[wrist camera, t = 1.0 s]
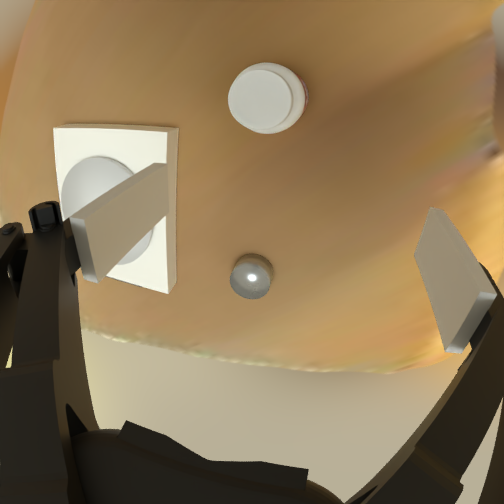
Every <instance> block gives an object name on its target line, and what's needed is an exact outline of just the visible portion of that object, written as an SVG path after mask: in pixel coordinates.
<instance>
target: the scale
mask: <svg viewBox="0 0 504 504" xmlns="http://www.w3.org/2000/svg"><path fill="white" fill-rule="evenodd" d="M53 129H54V148H55V161H56V175H57V184H58V192H59V200H60V207H61V213H62V220H63V221H64V220H66V219H67V218H69V217H70V216H71V215H73V214H74V213H76V212H77V211H79V210H80V209H81V208H83V207H84V206H86V205H87V204H89V203H90V202H92V201H93V200H95V199H96V198H98V197H99V196H101V195H102V194H104V193H105V192H107V191H109V190H110V189H112V188H113V187H115V186H116V185H118V184H120V183H121V182H123V181H124V180H126V179H128V178H129V177H131V176H133V175H134V174H136V173H137V172H139V171H141V170H143V169H144V168H146V167H148V166H149V165H151V164H153V163H167V167H168V196H169V213H168V214H167V215H166V216H165V217H164V218H163V219H162V220H161V221H159V222H158V223H157V224H156V225H155V226H154V227H153V228H152V229H151V230H150V231H149V232H148V233H147V234H146V235H145V236H144V237H143V238H142V239H141V240H140V241H139V242H138V243H137V244H136V245H135V246H134V247H133V248H132V249H131V250H130V251H129V252H128V253H127V254H126V255H125V256H124V257H123V258H122V259H121V260H120V261H119V262H118V263H117V264H116V265H115V266H114V267H113V269H112V270H111V271H110V272H109V273H108V274H107V275H106V277H109V278H113V279H116V280H119V281H123V282H126V283H129V284H133V285H136V286H139V287H145V288H149V289H152V290H156V291H159V292H163V293H167V294H169V292H170V291H171V289H172V288H173V286H174V285H175V284H176V282H177V274H176V186H177V156H178V135H179V128H172V127H159V126H143V125H123V124H65V125H62V126H59V127H56V128H53ZM80 268H81V267H80Z"/></svg>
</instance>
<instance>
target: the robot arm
mask: <svg viewBox="0 0 504 504" xmlns="http://www.w3.org/2000/svg"><path fill="white" fill-rule="evenodd" d="M168 213H169V196H168V167H167V163H153V164H151V165H149V166H148V167H146V168H144V169H143V170H141V171H139V172H137V173H136V174H134V175H133V176H131V177H129V178H128V179H126V180H124V181H123V182H121V183H120V184H118V185H116V186H115V187H113V188H112V189H110V190H109V191H107V192H105V193H104V194H102V195H101V196H99V197H98V198H96V199H95V200H93V201H92V202H90V203H89V204H87V205H86V206H84V207H83V208H81V209H80V210H79V211H77V212H76V213H74V214H73V215H71V216H70V217H69V218H67V219H66V220H64V221H62V216H61V211H60V206H59V203H58V202H56V201H47V202H43V203H40V204H38V205H35V206H34V207H32V208H31V209H30V210H29V217H30V221H31V225H32V229H33V233H24V231H23V227H22V224H21V223H19V222H14V223H8V224H5V225H4V226H3V227H2V228H0V504H455V503H456V501H457V500H458V498H459V496H460V495H461V493H462V491H463V484H461V483H460V479H461V477H462V475H463V474H464V472H465V471H466V469H467V467H468V465H469V464H470V462H471V460H472V459H473V457H474V455H475V453H476V451H477V449H478V448H479V446H480V444H481V442H482V440H483V438H484V437H485V435H486V433H487V431H488V429H489V427H490V424H491V422H492V420H493V418H494V416H495V414H496V411H497V409H498V407H499V405H500V402H501V400H502V398H503V403H502V409H501V415H500V422H499V427H498V432H497V437H496V441H495V446H494V450H493V455H492V458H491V462H490V466H489V470H488V474H487V477H486V480H485V483H484V487H483V490H482V493H481V496H480V499H479V502H478V504H504V298H503V296H502V294H501V292H500V291H499V289H498V287H497V286H496V284H495V282H494V280H493V279H492V277H491V275H490V273H489V272H488V270H487V269H486V268H485V267H484V266H483V265H482V264H481V263H480V262H478V261H477V259H476V257H475V256H474V254H473V253H472V251H471V250H470V248H469V246H468V245H467V243H466V242H465V240H464V239H463V237H462V236H461V234H460V233H459V231H458V230H457V229H456V227H455V226H454V224H453V223H452V221H451V220H450V219H449V217H448V216H447V214H446V213H445V212H444V210H442V209H438V208H434V207H430V208H429V211H428V215H427V218H426V221H425V224H424V227H423V230H422V233H421V236H420V239H419V242H418V245H417V248H416V251H415V253H414V257H415V259H416V262H417V265H418V267H419V270H420V273H421V276H422V278H423V281H424V284H425V287H426V290H427V293H428V296H429V299H430V302H431V305H432V308H433V312H434V315H435V318H436V321H437V325H438V328H439V332H440V335H441V339H442V343H443V346H444V350H445V352H451V353H462V352H463V350H464V349H465V347H466V346H467V344H468V343H469V342H470V345H471V348H472V350H471V352H470V353H469V355H468V356H467V358H466V359H465V360H464V362H463V363H462V365H461V366H460V367H459V369H458V372H457V374H456V375H455V377H454V379H453V380H452V382H451V383H450V385H449V386H448V388H447V389H446V390H445V392H444V394H443V395H442V396H441V398H440V399H439V400H438V402H437V403H436V405H435V406H434V408H433V409H432V410H431V411H430V413H429V414H428V415H427V417H426V418H425V419H424V421H423V422H422V423H421V424H420V426H419V427H418V428H417V429H416V431H415V432H414V433H413V435H412V436H411V437H410V438H409V439H408V440H407V442H406V443H405V444H404V445H403V446H402V448H401V449H400V450H399V451H398V452H397V453H396V454H395V455H394V456H393V458H392V459H391V460H390V461H389V462H388V463H387V464H386V465H385V466H384V467H383V468H382V469H381V470H380V471H379V473H377V475H376V476H375V477H374V478H373V479H372V480H371V481H370V482H368V483H367V484H366V485H365V486H364V487H363V488H362V489H361V490H360V491H359V492H357V493H356V494H355V495H354V496H352V497H351V498H350V499H349V500H348V501H346V502H345V503H343V502H342V501H341V500H340V499H339V498H338V497H337V496H335V495H334V494H333V493H332V492H330V491H329V490H327V489H326V488H324V487H322V486H320V485H318V484H316V483H314V482H312V481H310V480H307V476H308V469H304V468H297V467H290V466H284V465H278V464H273V463H267V462H262V461H255V462H254V461H253V462H236V461H235V462H234V461H211V460H207V459H205V458H203V457H201V456H200V455H198V454H196V453H194V452H192V451H191V450H189V449H187V448H186V447H184V446H182V445H181V444H179V443H177V442H176V441H174V440H173V439H171V438H170V437H168V436H166V435H164V434H161V433H158V432H155V431H152V430H150V429H147V428H144V427H142V426H139V425H137V424H134V423H132V422H129V421H127V420H126V422H125V423H124V425H123V427H122V429H121V430H119V429H99V426H98V424H97V421H96V419H95V415H94V410H93V406H92V401H91V396H90V390H89V385H88V379H87V373H86V366H85V359H84V353H83V344H82V337H81V326H80V315H79V302H78V285H77V277H76V274H75V272H76V271H77V270H78V269H79V268H80V267H81V270H82V273H83V277H84V279H85V280H88V281H92V282H95V283H99V282H100V281H101V280H102V279H103V278H104V277H105V276H106V275H107V274H108V273H109V272H110V271H111V270H112V269H113V267H114V266H115V265H116V264H117V263H118V262H119V261H120V260H121V259H122V258H123V257H124V256H125V255H126V254H127V253H128V252H129V251H130V250H131V249H132V248H133V247H134V246H135V245H136V244H137V243H138V242H139V241H140V240H141V239H142V238H143V237H144V236H145V235H146V234H147V233H148V232H149V231H150V230H151V229H152V228H153V227H154V226H155V225H156V224H157V223H158V222H159V221H161V220H162V219H163V218H164V217H165V216H166V215H167V214H168ZM8 273H9V276H10V277H9V276H8ZM12 346H13V350H12V365H11V367H10V368H6V364H7V361H8V358H9V355H10V352H11V348H12Z"/></svg>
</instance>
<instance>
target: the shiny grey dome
mask: <svg viewBox="0 0 504 504" xmlns="http://www.w3.org/2000/svg"><path fill="white" fill-rule="evenodd" d="M272 277H273V267H272V265H271V263H270V262H269V261H268V260H267V259H266V258H265V257H263V256H261V255H258V254H246V255H244V256H242V257H241V258H240V259H239V260H238V261H237V263H236V265H235V267H234V269H233V271H232V273H231V276H230V284H231V287H232V288H233V290H234V291H235V292H236V293H237V294H238V295H240V296H242V297H244V298H247V299H258V298H261V297H263V296H264V295H266V294H267V292H268V290H269V287H270V284H271V280H272Z"/></svg>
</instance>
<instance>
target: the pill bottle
mask: <svg viewBox="0 0 504 504" xmlns="http://www.w3.org/2000/svg"><path fill="white" fill-rule="evenodd" d="M308 100H309V94H308V89H307V87H306V84H305V83H304V81H303V80H302V78H301V77H300V76H299V75H297V74H296V73H295V72H293V71H291V70H290V69H288V68H286V67H284V66H282V65H279V64H275V63H258V64H254V65H252V66H249V67H248V68H246V69H244V70H243V71H242V72H241V73H240V74H239V75H238V76H237V77H236V79H235V80H234V82H233V84H232V85H231V88H230V90H229V94H228V105H229V108H230V111H231V113H232V115H233V117H234V118H235V119H236V120H237V121H238V122H239V123H240V124H242V125H243V126H245V127H246V128H248V129H250V130H252V131H254V132H258V133H263V134H273V133H278V132H281V131H283V130H285V129H287V128H289V127H290V126H292V125H293V124H294V123H295V122H296V121H297V120H298V119H299V118H300V117H301V115H302V114H303V113H304V112H305V110H306V108H307V105H308Z"/></svg>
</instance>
